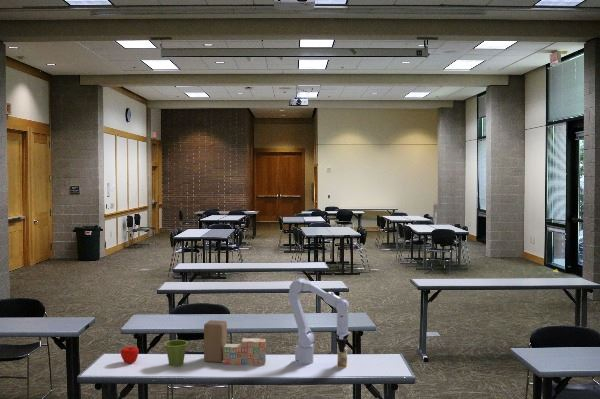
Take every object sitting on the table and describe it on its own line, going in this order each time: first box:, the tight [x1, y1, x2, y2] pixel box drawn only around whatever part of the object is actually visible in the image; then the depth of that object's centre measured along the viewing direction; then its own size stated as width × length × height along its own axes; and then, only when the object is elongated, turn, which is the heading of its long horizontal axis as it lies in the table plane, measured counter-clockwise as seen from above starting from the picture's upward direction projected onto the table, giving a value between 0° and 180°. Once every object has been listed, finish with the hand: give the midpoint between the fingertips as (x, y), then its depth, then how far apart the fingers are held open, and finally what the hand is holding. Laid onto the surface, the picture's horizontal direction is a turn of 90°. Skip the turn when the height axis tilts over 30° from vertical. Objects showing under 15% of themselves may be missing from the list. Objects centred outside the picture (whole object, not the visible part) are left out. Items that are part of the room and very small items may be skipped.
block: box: [203, 319, 228, 363], centre depth 304 cm, size 10×10×20 cm
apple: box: [120, 346, 139, 364], centre depth 299 cm, size 9×9×8 cm
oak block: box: [337, 357, 348, 368], centre depth 293 cm, size 4×4×4 cm
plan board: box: [335, 362, 350, 369], centre depth 290 cm, size 14×16×1 cm
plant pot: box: [164, 339, 189, 367], centre depth 296 cm, size 12×12×11 cm
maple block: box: [337, 346, 348, 359], centre depth 293 cm, size 4×4×4 cm
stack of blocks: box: [223, 337, 267, 366], centre depth 299 cm, size 21×6×12 cm, turn 89°
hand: (342, 349), depth 293 cm, fingers open, 7 cm apart
